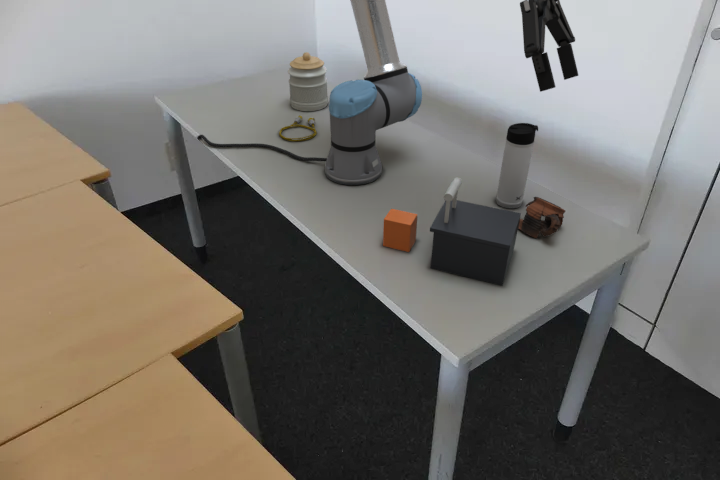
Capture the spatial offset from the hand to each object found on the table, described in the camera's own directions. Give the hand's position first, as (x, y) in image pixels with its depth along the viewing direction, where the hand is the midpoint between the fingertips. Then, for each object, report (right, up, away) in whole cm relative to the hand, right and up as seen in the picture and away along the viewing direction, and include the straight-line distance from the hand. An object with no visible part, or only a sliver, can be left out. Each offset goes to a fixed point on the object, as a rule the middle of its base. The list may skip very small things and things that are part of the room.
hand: (560, 83), depth 106 cm
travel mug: (-2, -21, +27) cm, 35 cm away
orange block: (-30, -31, +13) cm, 46 cm away
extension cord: (-57, +3, +62) cm, 84 cm away
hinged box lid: (-16, -27, +3) cm, 32 cm away
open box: (-15, -35, +8) cm, 39 cm away
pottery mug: (+2, -29, +17) cm, 33 cm away
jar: (-56, +16, +80) cm, 99 cm away
